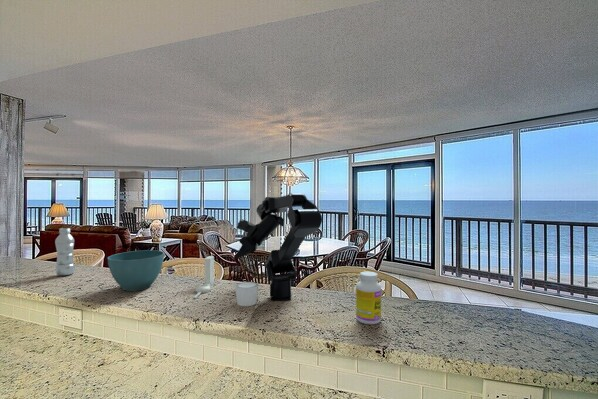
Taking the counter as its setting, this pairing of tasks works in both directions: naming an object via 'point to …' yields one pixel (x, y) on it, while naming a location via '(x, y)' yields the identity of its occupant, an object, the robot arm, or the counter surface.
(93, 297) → the counter surface
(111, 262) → the teal bowl
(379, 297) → the supplement bottle
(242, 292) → the white cup
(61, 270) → the plastic bottle
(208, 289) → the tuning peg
